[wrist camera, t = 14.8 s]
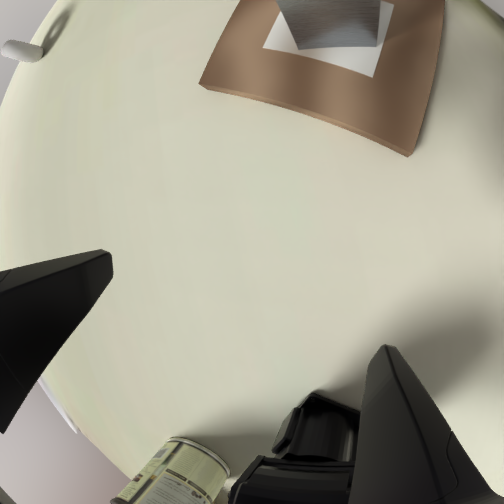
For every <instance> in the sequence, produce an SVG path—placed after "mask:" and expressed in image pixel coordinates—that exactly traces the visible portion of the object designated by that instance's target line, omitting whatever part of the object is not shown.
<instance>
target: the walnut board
mask: <svg viewBox="0 0 504 504" xmlns="http://www.w3.org/2000/svg"><path fill="white" fill-rule="evenodd" d="M444 6H445V0H381V4H380V17H379V27H378V37H377V45H376V47H331V48H316V49H305V50H298V48H297V45H296V43H295V41H294V38H293V36H292V34H291V32H290V29H289V27H288V25H287V23H286V21H285V19H284V17H283V14H282V12H281V10H280V8H279V6H278V4H277V2H276V0H240V2H239V3H238V5H237V7H236V9H235V10H234V12H233V14H232V16H231V18H230V20H229V21H228V23H227V25H226V27H225V29H224V31H223V33H222V35H221V37H220V39H219V41H218V43H217V45H216V47H215V49H214V51H213V53H212V55H211V57H210V59H209V61H208V63H207V66H206V68H205V70H204V72H203V74H202V77H201V79H200V81H199V84H200V85H201V86H203V87H204V88H206V89H207V90H212V91H217V92H223V93H227V94H232V95H237V96H241V97H245V98H250V99H254V100H258V101H261V102H265V103H269V104H273V105H276V106H280V107H283V108H286V109H290V110H293V111H296V112H299V113H302V114H305V115H308V116H311V117H314V118H317V119H320V120H323V121H326V122H328V123H331V124H334V125H336V126H339V127H341V128H344V129H347V130H349V131H351V132H354V133H356V134H359V135H361V136H363V137H366V138H368V139H370V140H372V141H375V142H377V143H379V144H381V145H383V146H386V147H388V148H390V149H392V150H394V151H396V152H398V153H400V154H402V155H404V156H406V157H409V156H410V155H412V154H413V151H414V147H415V144H416V141H417V138H418V135H419V132H420V128H421V125H422V121H423V118H424V114H425V111H426V107H427V103H428V99H429V95H430V91H431V87H432V83H433V78H434V73H435V69H436V64H437V58H438V53H439V47H440V40H441V33H442V26H443V17H444Z"/></svg>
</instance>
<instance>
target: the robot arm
mask: <svg viewBox="0 0 504 504" xmlns="http://www.w3.org/2000/svg"><path fill="white" fill-rule="evenodd" d="M112 278H113V263H112V255H111V253H109V252H107V251H105V250H102V249H99V250H94V251H89V252H84V253H80V254H75V255H70V256H66V257H61V258H56V259H52V260H48V261H43V262H39V263H34V264H30V265H26V266H22V267H17V268H13V269H9V270H5V271H1V272H0V432H1V433H2V434H4V433H5V431H6V429H7V428H8V426H9V424H10V423H11V421H12V419H13V417H14V416H15V414H16V413H17V411H18V409H19V408H20V406H21V404H22V403H23V401H24V400H25V398H26V397H27V395H28V393H29V392H30V390H31V389H32V387H33V386H34V384H35V383H36V382H37V380H38V379H39V377H40V376H41V374H42V373H43V371H44V370H45V369H46V367H47V366H48V364H49V363H50V362H51V360H52V359H53V358H54V356H55V355H56V354H57V352H58V351H59V350H60V348H61V347H62V346H63V344H64V343H65V342H66V340H67V339H68V338H69V336H70V335H71V334H72V333H73V331H74V330H75V329H76V328H77V326H78V325H79V324H80V323H81V321H82V320H83V319H84V318H85V316H86V315H87V314H88V313H89V311H90V310H91V309H92V307H93V306H94V304H95V303H96V301H97V300H98V298H99V297H100V295H101V294H102V293H103V291H104V290H105V288H106V287H107V285H108V284H109V283H110V281H111V280H112ZM311 398H314V399H311ZM272 452H273V453H274V454H276V457H275V458H270V457H265V456H262V455H258V456H257V457H256V459H255V460H254V461H253V462H252V463H251V464H250V466H249V467H248V468H247V469H246V470H245V472H244V473H243V474H242V475H241V476H240V478H239V479H238V480H237V481H236V482H235V483H234V485H233V486H232V487H231V491H230V492H229V494H228V497H229V501H228V504H504V497H502V496H500V495H498V494H496V493H495V492H494V491H493V490H492V489H491V488H490V487H489V485H488V484H487V482H486V481H485V479H484V478H483V477H482V475H481V474H480V472H479V471H478V469H477V468H476V466H475V465H474V464H473V462H472V461H471V459H470V458H469V456H468V455H467V453H466V452H465V450H464V449H463V447H462V445H461V444H460V442H459V441H458V439H457V437H456V436H455V434H454V432H453V431H451V428H450V426H449V425H448V423H447V421H446V420H445V418H444V417H443V415H442V414H441V412H440V410H439V409H438V407H437V406H436V404H435V403H434V401H433V400H432V398H431V397H430V395H429V394H428V392H427V391H426V389H425V388H424V386H423V385H422V384H421V382H420V381H419V379H418V378H417V376H416V375H415V373H414V372H413V371H412V369H411V368H410V366H409V365H408V364H407V362H406V361H405V359H404V358H403V357H402V355H401V354H400V352H399V351H398V350H397V348H396V347H394V346H390V345H386V344H384V345H382V346H381V347H380V348H379V350H378V351H377V353H376V354H375V356H374V357H373V358H372V360H371V361H370V363H369V366H368V370H367V377H366V384H365V390H364V396H363V401H362V407H361V412H359V411H357V410H354V409H351V408H349V407H346V406H344V405H341V404H339V403H336V402H334V401H331V400H329V399H327V398H324V397H322V396H320V395H317V394H315V393H311V394H309V395H308V396H307V398H306V399H305V400H304V401H303V403H302V404H301V405H300V406H299V408H298V407H296V408H294V409H293V410H292V411H291V412H290V414H289V415H288V416H287V417H286V419H285V420H284V421H283V423H282V425H281V428H280V430H279V433H278V435H277V438H276V440H275V443H274V445H273V447H272ZM0 504H16V503H15V502H14V501H13V500H12V499H11V498H10V497H9V496H8V495H7V494H6V493H5V491H4V490H3V489H2V488H1V487H0Z"/></svg>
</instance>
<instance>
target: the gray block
mask: <svg viewBox="0 0 504 504" xmlns="http://www.w3.org/2000/svg"><path fill="white" fill-rule="evenodd" d="M276 2H277V4H278V6H279V8H280V10H281V12H282V14H283V17H284V19H285V21H286V23H287V25H288V27H289V29H290V32H291V34H292V36H293V38H294V41H295V43H296V45H297V48H298V50H305V49H316V48H331V47H376V45H377V37H378V27H379V17H380V4H381V0H276Z"/></svg>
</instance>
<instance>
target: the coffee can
mask: <svg viewBox="0 0 504 504" xmlns="http://www.w3.org/2000/svg"><path fill="white" fill-rule="evenodd" d="M229 475H230V470H229V468H228V466H227V464H226V463H225V462H224V461H223V460H222V459H221V458H220V457H219V456H218V455H216V454H215V453H214V452H212V451H211V450H209V449H207V448H206V447H204V446H202V445H200V444H198V443H195V442H193V441H191V440H188V439H184V438H178V437H175V438H170V439H168V440H167V441H166V443H165V444H164V445H163V447H162V448H161V449H160V450H159V451H158V452H157V453H156V454H155V456H154V457H153V458H152V459H151V460H150V461H149V462H148V463H147V465H146V466H145V467H144V468H143V469H142V470H141V471H140V472H139V473H138V474H137V475H136V476H135V477H134V479H133V480H132V481H131V482H130V483H129V484H128V485H127V486H126V487H125V488H124V489H123V490H122V491H121V492H120V493H119V494H118V495H117V497H115V498H114V499H112V500H111V501H110V503H111V504H212V503H213V501H214V500H215V498H216V496H217V495H218V493H219V491H220V490H221V488H222V486H223V484H224V483H225V481H226V480H227V478H228V477H229Z"/></svg>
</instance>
